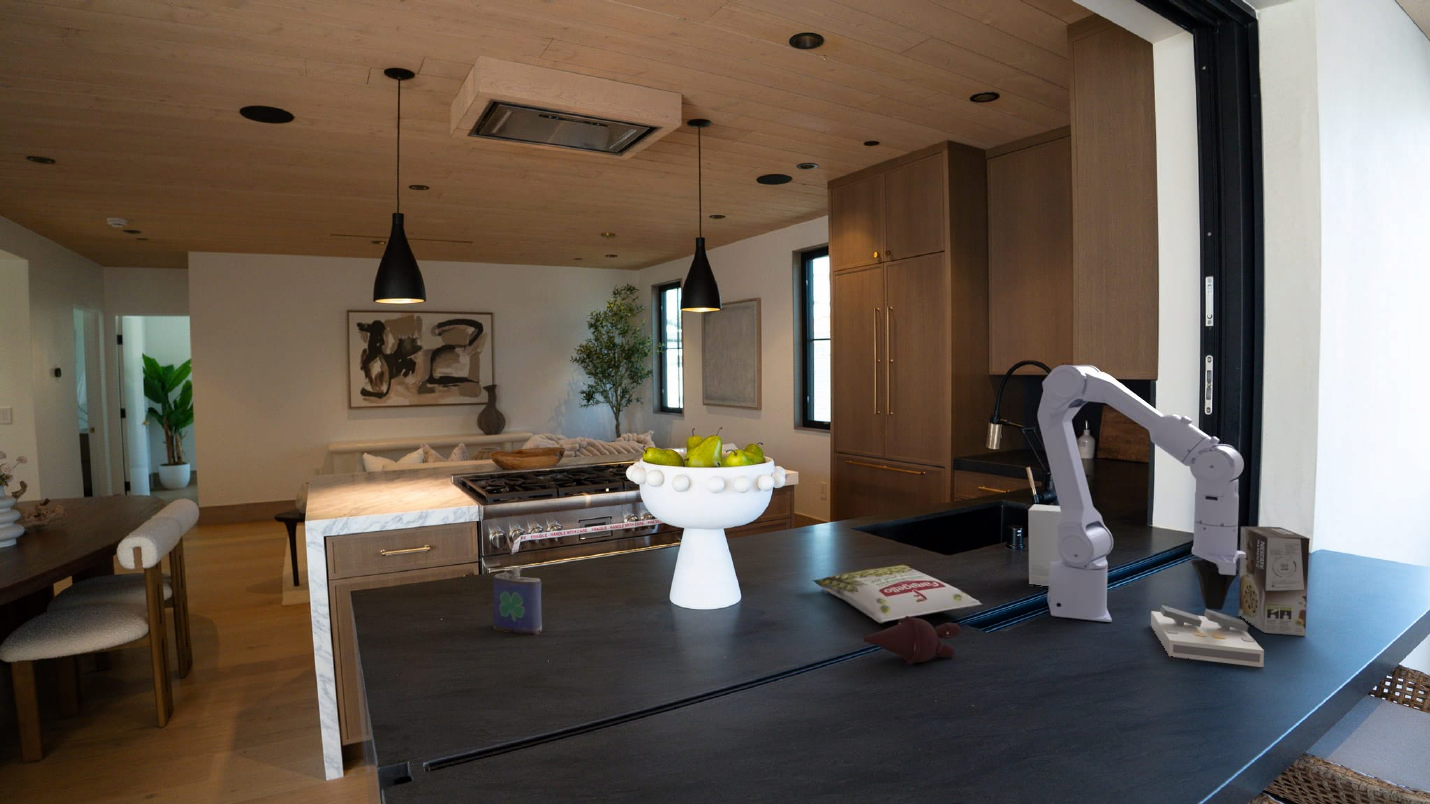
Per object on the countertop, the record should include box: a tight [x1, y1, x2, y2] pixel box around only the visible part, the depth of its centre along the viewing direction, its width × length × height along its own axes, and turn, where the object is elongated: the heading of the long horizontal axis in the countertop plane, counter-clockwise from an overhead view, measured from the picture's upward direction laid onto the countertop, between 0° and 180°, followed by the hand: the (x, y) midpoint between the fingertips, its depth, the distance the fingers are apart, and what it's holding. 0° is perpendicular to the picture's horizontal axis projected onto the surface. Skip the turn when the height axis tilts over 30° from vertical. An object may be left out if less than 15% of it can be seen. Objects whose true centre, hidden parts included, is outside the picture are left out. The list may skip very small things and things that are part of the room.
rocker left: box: [1159, 604, 1202, 627], centre depth 120 cm, size 5×3×2 cm, turn 70°
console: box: [1150, 610, 1265, 668], centre depth 118 cm, size 12×14×3 cm
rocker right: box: [1203, 608, 1250, 633], centre depth 118 cm, size 5×3×2 cm, turn 70°
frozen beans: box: [811, 564, 983, 625], centre depth 138 cm, size 21×6×25 cm
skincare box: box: [1027, 503, 1062, 587], centre depth 150 cm, size 8×7×16 cm
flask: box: [492, 566, 543, 636], centre depth 126 cm, size 9×3×11 cm, turn 68°
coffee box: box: [1238, 525, 1311, 637], centre depth 127 cm, size 9×6×16 cm
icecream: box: [862, 616, 962, 666], centre depth 112 cm, size 7×7×15 cm
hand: (1213, 608), depth 118 cm, fingers closed
